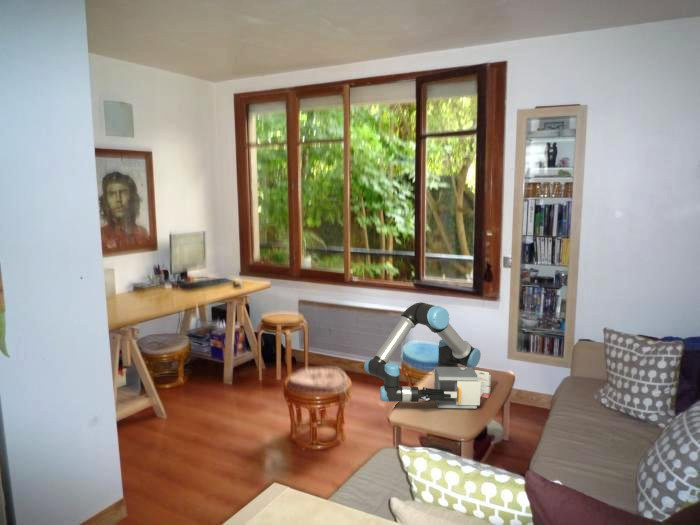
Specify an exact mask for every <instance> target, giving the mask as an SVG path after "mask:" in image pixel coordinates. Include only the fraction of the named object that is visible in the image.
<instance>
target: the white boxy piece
mask: <svg viewBox="0 0 700 525" xmlns="http://www.w3.org/2000/svg"><path fill="white" fill-rule="evenodd" d="M480 390H481V381H465V380H457V398H456V405H476V406H481V405H480V404H481V397H480Z"/></svg>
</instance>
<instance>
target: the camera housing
mask: <svg viewBox="0 0 700 525" xmlns="http://www.w3.org/2000/svg"><path fill="white" fill-rule="evenodd" d="M457 380H465V381H478V378H477V374H476V372H475V369H474V368H472V367H466V366H458V367H437V366H435V367H434V387H433V389H440V390H444V392H457ZM434 402H435V406H436V408H437V409H475V410H476V409H477V408H478V405H456V398H444V400H436V401H434Z"/></svg>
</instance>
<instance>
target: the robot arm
mask: <svg viewBox="0 0 700 525" xmlns="http://www.w3.org/2000/svg"><path fill="white" fill-rule="evenodd" d="M418 324H420V325H423V326H426V327H427V328H428V329H429V330H430V331H431V332H432V333H434V334H437V335H438V336H439V337H440V340H439V342H438V347H437V348H438V351H437V352H438V356H437V357H438V358H437V359H438V360H437V362H438V363H437V365H436V367H459V365H461V366H462V367H472V368H473V369H474V368H476V367H477V366H478V364H479V363H480V360H481V351H480V349H479V348H477V347H474V346H472V344H470V343H469V341H466V340H464V339H463V338H462V337H461V336H460V335H459V333H458V332H457V331H456V330H455V328H454V327H453V326H452V325H451V324H450V314H449V312H448V310H447V309H446V308H444V307H442V306H440V305H434V304H430V303H425V302H416V303H413V304H411V305H410V306H409V307H407V308H406V309H405V310H404V312H402V314H401V315H400V317H399V321H398V322H397V324H396V325H395V327H394V328H393V330H392V331H391V333H390V334H389V335H388V337H387V338H386V340H385V341H384V342H383V344H382V345H381V347H380V348H379V350H377V352H376V354H375V355H374V357H373V358H368V359H367V360H365V362H364V364H363V369H364V371H365V372H366V373H368V374H369V375H371V376H374V377H376V378H378V379H380V380H383V385H382V386H380V387H379V388H380V389H379V398H380V401H381V402H389V403H390V402H403V403H406V402H411V403H417V402H419V400H425V402H427V403H428V402H435V401H436V400H444V398H457V392H444V390H440V389H434V388H428V387H424V386H423V387H422V388H421V389H419V387H418V386H411V387H410V386H402V385H401V386H400V365H399V364H398V363H397V362H396V363H395V362H389V361H390V360H391V359H392V357H393V356H394V354H395V353H396V351H397V350H398V348H399V347H400V346H401V344H402V342H403V341H404V340H405V338H406V337H407V336H408V334H409V332H410V331H411V330H412V329H414V328H415V327H416V326H417V325H418Z"/></svg>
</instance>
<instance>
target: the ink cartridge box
mask: <svg viewBox="0 0 700 525" xmlns="http://www.w3.org/2000/svg"><path fill="white" fill-rule="evenodd" d="M474 371H475V372H476V374H477V378H478V381H481V390H480V398H485V399H489V398H490V396H491V384H492V380H491V379H492V375H491V374H490V372H488V371H483V370H477V369H474Z"/></svg>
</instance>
